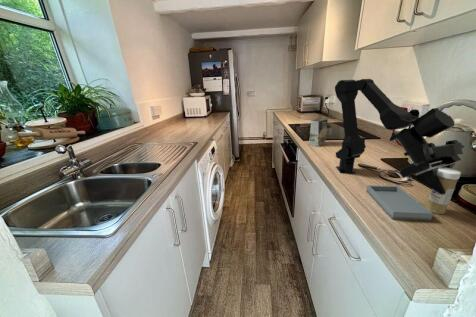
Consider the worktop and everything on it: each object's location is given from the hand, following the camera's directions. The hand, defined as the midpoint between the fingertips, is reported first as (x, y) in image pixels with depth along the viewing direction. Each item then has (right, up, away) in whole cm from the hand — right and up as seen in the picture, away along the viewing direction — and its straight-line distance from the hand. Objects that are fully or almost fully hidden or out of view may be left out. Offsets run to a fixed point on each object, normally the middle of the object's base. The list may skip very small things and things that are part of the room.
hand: (448, 192), depth 57 cm
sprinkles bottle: (0, -6, +4) cm, 7 cm away
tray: (-10, -5, +7) cm, 13 cm away
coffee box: (-9, +19, +73) cm, 76 cm away
